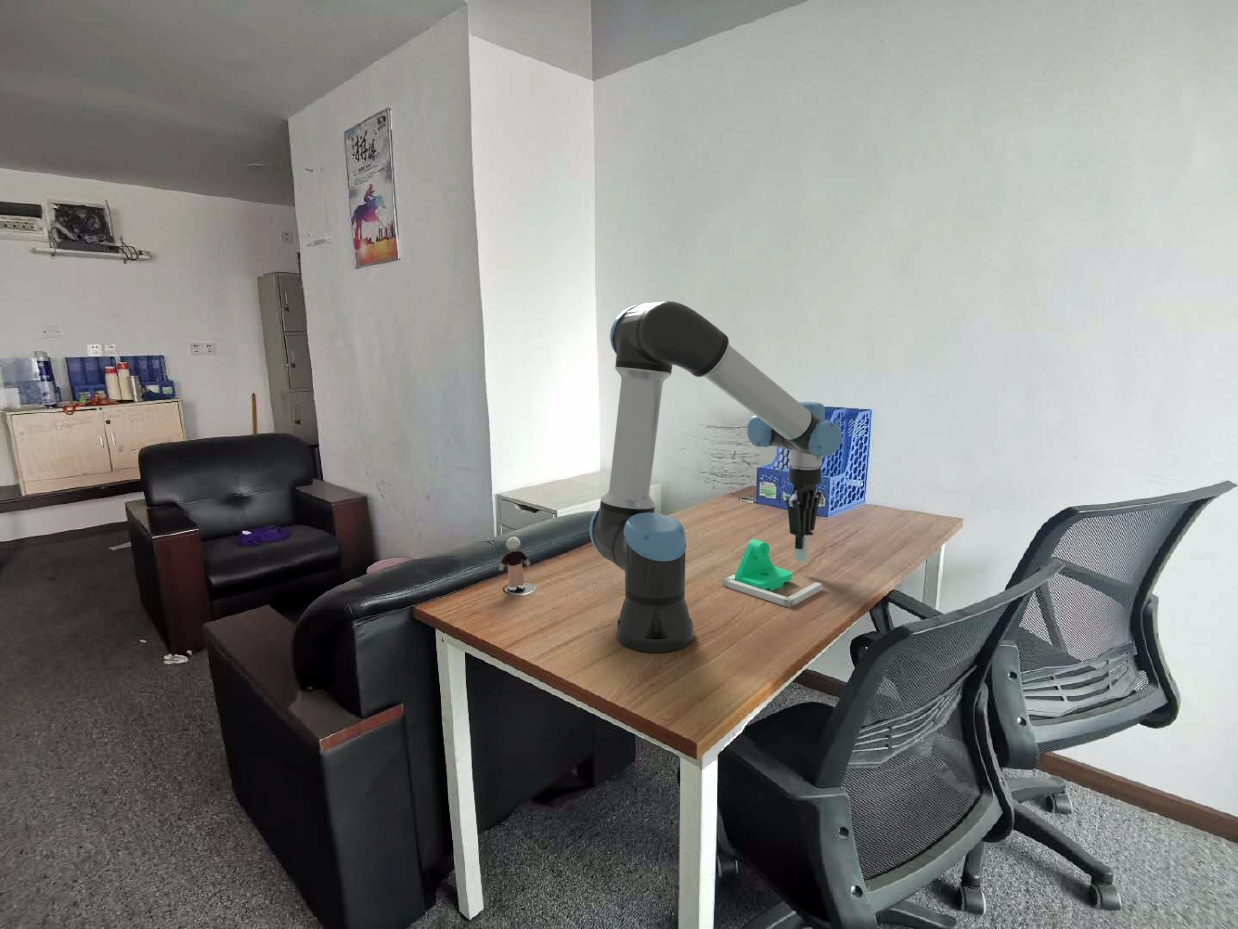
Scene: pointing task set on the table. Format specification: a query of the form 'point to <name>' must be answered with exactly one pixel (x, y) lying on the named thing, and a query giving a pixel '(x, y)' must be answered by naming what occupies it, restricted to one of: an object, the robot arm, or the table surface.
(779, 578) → the camera mount
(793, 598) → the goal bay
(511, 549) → the grandmother figurine
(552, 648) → the table surface
